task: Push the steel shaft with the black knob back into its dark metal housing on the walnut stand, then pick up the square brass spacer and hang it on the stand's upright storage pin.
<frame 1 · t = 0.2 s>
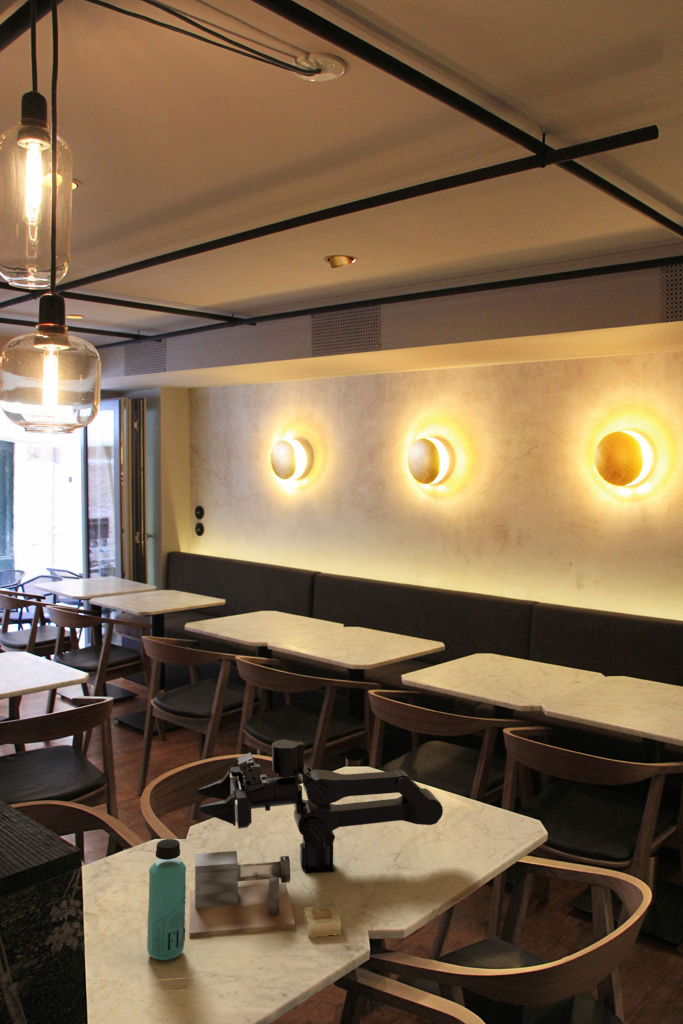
hand: (198, 800, 165), 16 cm above the table, tool horizontal, fingers open, 9 cm apart
beverage bottle: (165, 959, 136), on the table
spacer: (322, 927, 146), on the table
shaft stand: (240, 912, 151), on the table
shaft: (251, 871, 154), point 6 cm above the table, slide at 6.0 cm
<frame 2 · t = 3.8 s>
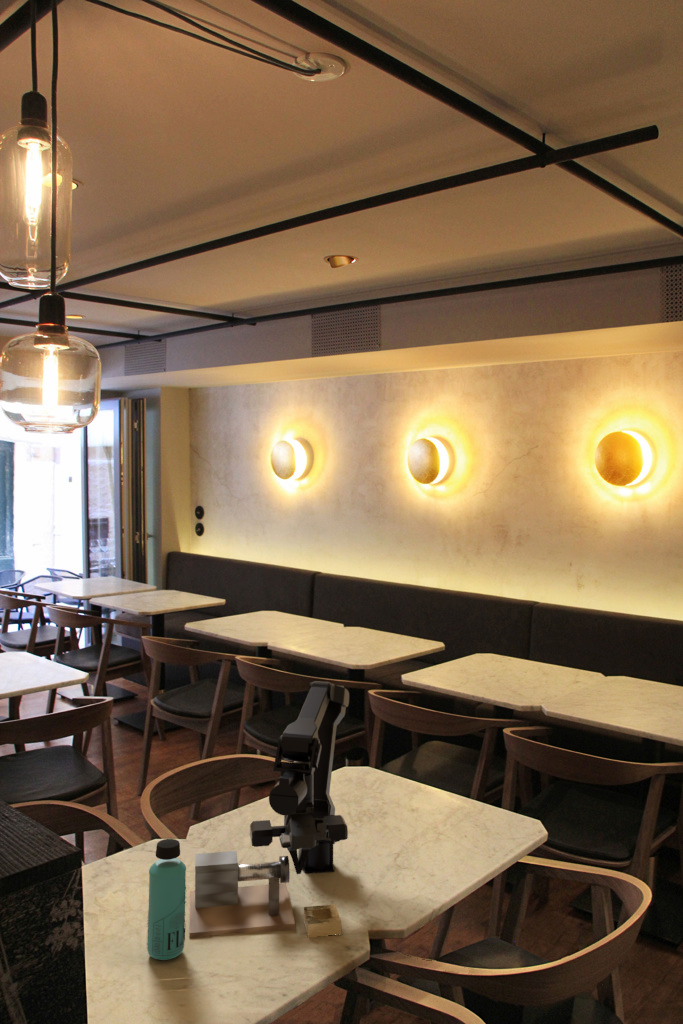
hand: (298, 873, 156), 5 cm above the table, tool pointing down, fingers closed
shaft: (250, 872, 154), point 6 cm above the table, slide at 5.8 cm, touching gripper
everything else where it was.
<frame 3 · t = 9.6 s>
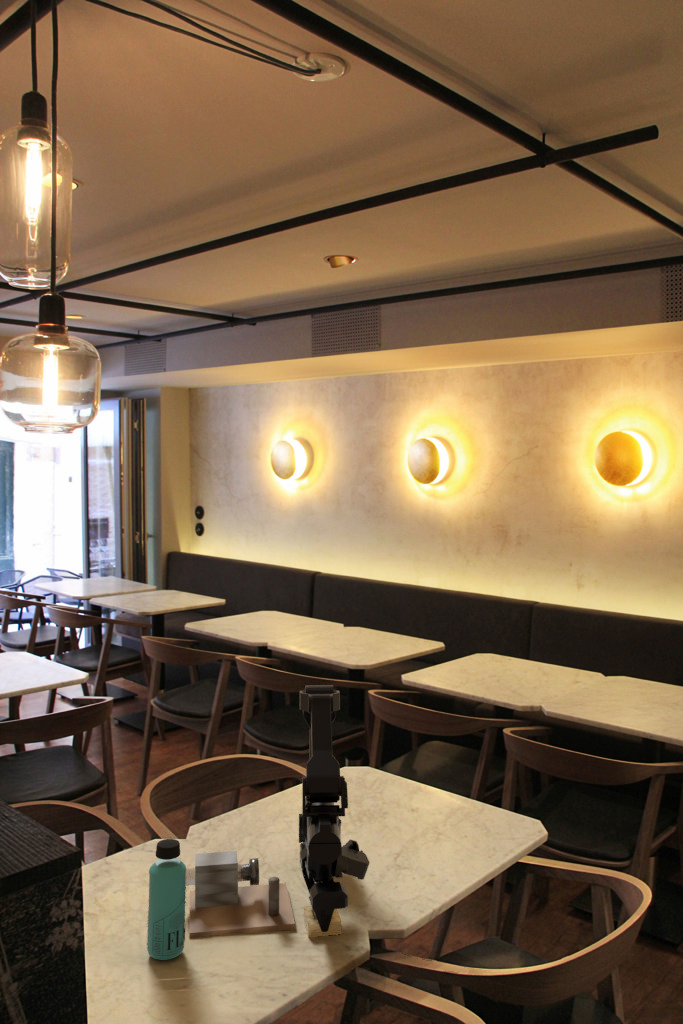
hand: (322, 922, 146), 1 cm above the table, tool pointing down, fingers closed on spacer, 6 cm apart
spacer: (322, 927, 146), on the table, touching gripper
shaft: (220, 874, 153), point 6 cm above the table, slide at 0.0 cm
everything else where it was.
when the fingers open (6 cm above the table, at t = 13.6 s): spacer drops 4 cm, resting on shaft stand.
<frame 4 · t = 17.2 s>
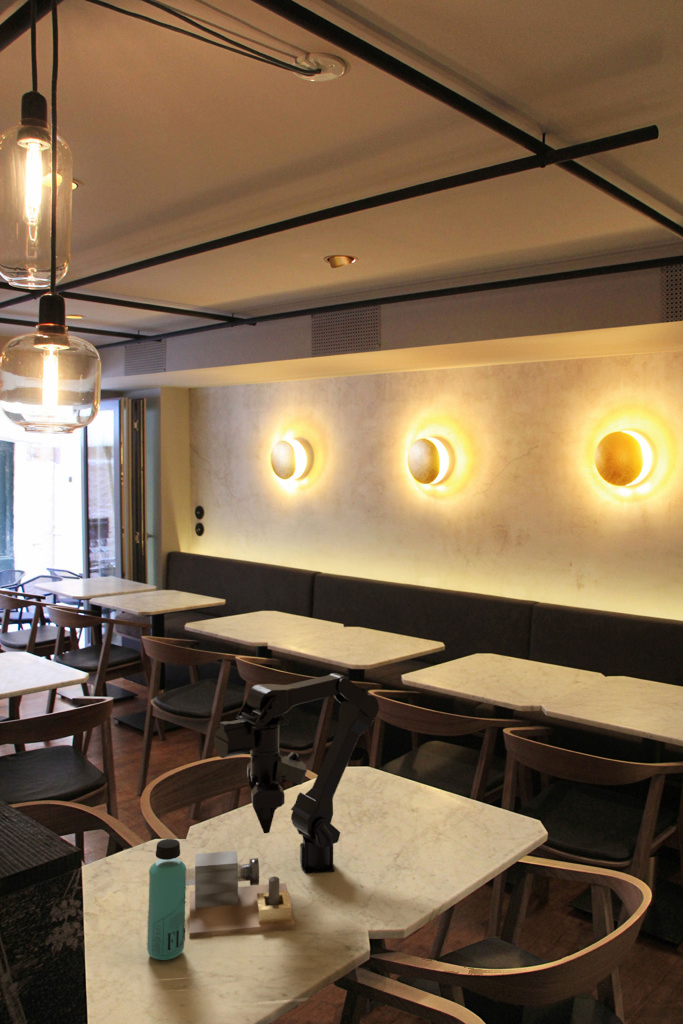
hand: (264, 823, 163), 12 cm above the table, tool pointing down, fingers open, 9 cm apart
spacer: (273, 913, 148), point 1 cm above the table, touching shaft stand
everything else where it was.
at the end: shaft slide at 0.0 cm; spacer 0.0 cm from the target spot, point 1.2 cm above the table; the gripper is holding nothing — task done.
